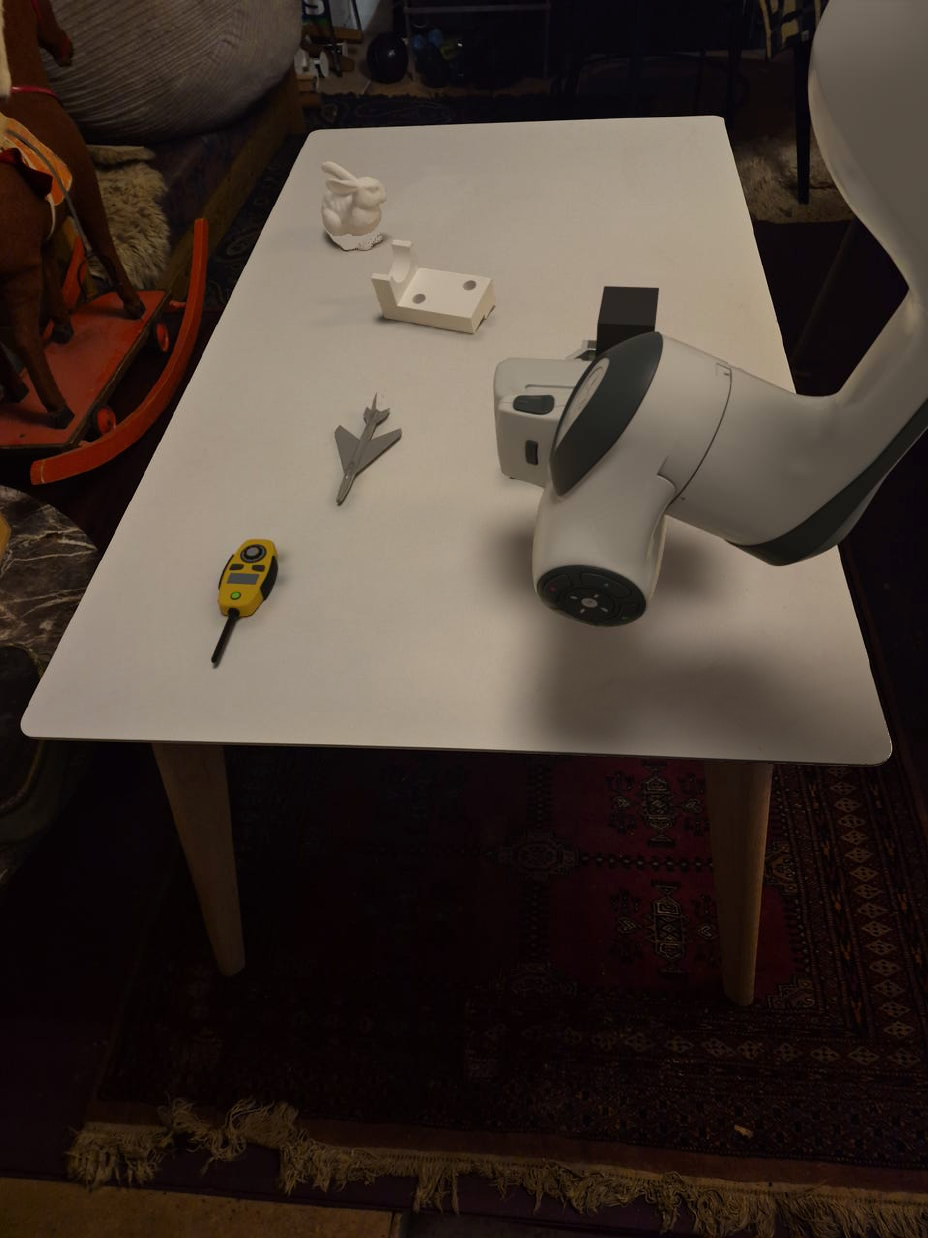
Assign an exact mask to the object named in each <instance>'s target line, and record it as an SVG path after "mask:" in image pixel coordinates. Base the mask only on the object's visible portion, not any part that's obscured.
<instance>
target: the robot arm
mask: <svg viewBox="0 0 928 1238" xmlns="http://www.w3.org/2000/svg"><path fill="white" fill-rule="evenodd" d="M807 75H808V76H807V93H808V106H809V113H810V121H811V124H812V128H813V129H812V130H813V133H814V135H815V140H816V143H817V146H818V149H819V151H820V154H821V157H822V160H823V162H824V164H825V166H826V168H827V170H828V173H829V174H830V176H831V178H832V180H833V183H834V184H835V187H836V188H837V190H838V191H839V193H840V195H841V197H842V198H843V200H844V201H845V202H846V204H847V206H848V207H849V209H851V211H852V212H853V213H854V215H856V217H857V218H858V219H859V220H860V222H861V223H862V224H863V225H864V227H866V229H867V230H868V231H869V232H870V234H872V236H873V237H874V238H875V240H877V241H878V243H879V244H880V245H881V246H882V248H883V249H884V251H886V253H887V254H888V255H889V257H890V259H891V260H892V261H893V263H894V264H895V266H896V268H897V269H898V270H899V272H900V273H901V275H902V277H903V278H904V280H905V282H906V284H907V286H908V291H907V292H906V295H905V297H904V298H903V300H902V302H901V303H900V304H899V306H898V308H897V309H896V310H895V311H894V313H893V314H892V316H891V317H890V318H889V320H888V321H887V323H886V324H885V326H884V327H883V328H882V330H881V332H880V333H879V334H878V335H877V337H876V339H875V340H874V341H873V343H872V344H871V346H870V348H869V349H868V350H867V351H866V353H865V354H864V356H863V357H862V359H861V360H860V362H859V363H858V364H857V366H856V367H855V369H854V370H853V371H852V373H851V374H850V376H849V377H848V379H846V380H845V383H844V384H843V386H842V387H841V388H840V390H839V391H838V392H836V393H833V394H830V395H824V396H812V395H804V394H798V393H795V392H793V391H790V390H788V389H785V388H783V387H781V386H780V385H777V384H774V383H772V382H770V381H768V380H765V379H764V378H761V377H759V376H756V375H754V374H752V373H750V372H747V371H746V370H744V368H741V367H737V366H734V365H732V364H730V363H729V362H728V361H726V360H724V359H721V358H719V357H717V356H715V355H714V354H711V353H709V352H707V351H704V350H702V349H699V348H697V347H695V346H692V345H690V344H688V343H685V342H683V341H682V340H680V339H676V338H674V337H672V336H669V335H666V334H663V333H661V332H660V331H656V330H655V332H648V333H644V334H641V335H638V336H635V337H632V338H630V339H628V340H625V341H624V342H622V343H620V344H618V345H616V346H614V347H612V348H610V349H608V350H607V351H605V352H603V353H601V354H600V355H598V356H597V357H596V340H597V339H582V341H581V346H580V348H578V349H577V350H575V351H574V352H572V353H570V354H569V355H568V356H566V357H565V358H564V359H555V358H552V359H551V358H532V357H531V358H529V357H508V358H506V359H503V360H501V361H499V362H498V363H497V364H496V366H495V369H494V374H493V382H492V383H493V384H492V389H493V390H492V391H493V414H494V426H495V435H496V437H495V438H496V439H495V440H496V449H497V456H498V461H499V466H500V471H501V473H502V474H503V475H505V476H507V477H509V478H510V477H512V478H511V479H516V480H518V481H522V482H525V483H528V484H531V485H534V486H536V487H540V488H542V489H543V491H542V494H541V497H540V499H539V503H538V508H537V512H536V517H535V518H536V519H535V525H534V531H533V532H534V533H533V540H532V541H533V542H532V559H531V561H532V562H531V569H532V571H531V572H532V583H533V587H534V591H535V593H536V595H537V597H538V599H539V600H540V601H541V602H542V603H543V604H544V605H545V606H546V608H548V609H549V610H551V611H552V612H554V613H555V614H557V615H560V616H562V617H565V618H567V619H568V620H572V621H575V622H577V623H581V624H583V625H585V626H586V625H587V626H591V627H595V628H616V627H617V628H618V627H622V626H626V625H629V624H632V623H634V622H637V621H638V620H640V619H641V618H642V617H643V616H644V615H645V614H646V613H647V611H648V610H649V608H650V605H651V602H652V600H653V597H654V594H655V591H656V587H657V584H658V580H659V576H660V575H659V574H660V572H661V567H662V561H663V555H664V549H665V543H666V542H665V541H666V533H667V526H668V525H667V524H668V523H667V522H668V517H670V518H672V519H675V520H678V521H680V522H682V523H683V524H684V523H685V524H687V525H690V526H691V527H694V528H696V529H699V530H701V531H704V532H706V533H708V534H710V535H714V536H715V537H717V538H720V539H722V540H724V541H725V542H726V543H728V544H729V545H731V546H733V547H735V548H737V549H738V550H740V551H742V552H744V553H746V554H748V555H749V556H752V557H754V558H755V559H757V560H758V561H759V560H760V561H761V562H763V563H765V564H767V565H769V566H772V567H786V566H790V565H794V564H797V563H802V562H805V561H806V560H811V559H814V558H815V557H818V556H819V555H822V554H824V553H826V552H828V551H829V550H831V549H833V548H834V547H836V546H837V545H839V544H840V543H841V542H842V541H843V540H844V539H845V538H846V537H847V536H848V535H849V534H850V532H851V531H852V530H853V528H854V527H855V526H856V524H857V523H858V521H859V520H860V519H861V517H862V516H863V514H864V512H865V511H866V510H867V508H868V506H869V504H870V503H871V501H872V499H874V496H875V495H876V493H877V492H878V490H879V488H880V487H881V485H882V484H883V482H884V481H885V479H886V478H887V476H888V475H889V474H890V472H891V471H892V470H893V469H894V468H895V467H896V465H897V464H898V463H899V462H900V461H901V459H902V458H903V457H904V456H905V455H906V454H907V452H908V451H909V450H910V449H911V448H912V446H914V444H915V443H916V442H917V441H918V439H920V437H922V435H923V434H924V433H925V432H926V431H927V429H928V0H828V3H827V5H826V6H825V9H824V11H823V13H822V15H821V18H820V20H819V22H818V24H817V27H816V29H815V31H814V35H813V39H812V44H811V50H810V57H809V65H808V74H807Z"/></svg>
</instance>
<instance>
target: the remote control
mask: <svg viewBox="0 0 928 1238" xmlns="http://www.w3.org/2000/svg"><path fill="white" fill-rule="evenodd" d="M278 569H279V563H278V551H277V548H276V545H275V543H274V541H273V540H271V539H265V538H249V539H247V540H245V541H244V542H242V544H240V546H239V548H238V549H237V550H236V552H235V553H232V554H231V556H230V557H229V559H228V560H227V562H226V564H225V565H224V567H223V570H222V572H221V574H220V577H219V581H218V586H217V588H218V597H217V603H218V605H219V608H220V610H221V612H222V613H223V614H224V615H226V616H228V617H227V619H226V622H225V624H224V626H223V629H222V632H221V634H220V635H219V638H218V641H217V643H216V646H215V648H214V651H213V653H212V655H211V657H210V662H211V663H212V664H216V663H217V662H218V661H219V658H220V656H221V653H222V651H223V648H224V646H225V643H226V641H227V638H228V636H229V633H230V632H231V629H232V626H233V624H234V622H235V620H236V619H237V618H239V617H249V616H251V615H253V614H254V613H255V612H256V611H257V609H258V608H259V607H260V605H261V603H262V602H263V601H264V600H266V599H267V597H268V596H269V594H270V592H271V590H272V588H273V587H274V584H275V581H276V578H277V576H278Z"/></svg>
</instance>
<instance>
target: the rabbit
mask: <svg viewBox="0 0 928 1238" xmlns="http://www.w3.org/2000/svg"><path fill="white" fill-rule="evenodd" d="M320 168H321V170H322V172H323V173H325V174H328V175H330V176H333V177H335V178H327V179H326V180H325V186H326V188H327V190H326V191H325V193H324V194H323V197H322V200H321V209H320V213H321V217H322V223H323V224H322V225H323V226H324V229H325V228H326V230H327V231H328V232H329V233H330V234H332V235H333V236H343V235H346V234H351V235H352V236H362V235H365V234H368V233H371V232H372V231H374V230H375V229H376V228H377V227H378V226H379V225H380V223H381V221H382V209H381V207H380V204H384V203H385V202H386V201H387V198H388V197H387V189H386V187H385V186H384V184H383V183H382V182H381V181H379V180H378V179H376V178H374V177H372V176H361V177H359V178H358V177H355V176H354V175H352V173H351V172H349V171H348V170H346V169H345V168H343V167H342V166H340V164H337V163H335V162H334V161H330V160H329V161H328V160H327V161H325V162H324V163H322V164H321V167H320ZM379 233H380V234H379V235H377V238H378V237H379V236H382V238H383V235H382V233H381V232H379ZM382 238H381V237H380V240H377V241H378V243H381V242H382V241H381V239H382ZM383 239H384V238H383ZM383 239H382V240H383ZM370 240H371V239H370ZM375 241H376V238H375ZM375 241H373V244H372V243H371V246H372V247H371V246H369V245H367V244H366V245H367V247H365V243H364V242H363V243H364V246H363V245H362V248H361V244H360V243H359V246H360V247H359V246H357V247H358V249H357V248H356V249H355V250H359V251H368V250H371V249H373V248H374V247H373V246H374V245H375V244H378V243H377V242H375ZM374 242H375V243H374ZM368 244H369V242H368ZM349 251H353V250H352V249H351V250H349ZM349 251H348V252H349Z"/></svg>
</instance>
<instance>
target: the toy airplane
mask: <svg viewBox="0 0 928 1238" xmlns="http://www.w3.org/2000/svg"><path fill="white" fill-rule="evenodd" d="M384 391H385V392H387V389H384ZM377 394H378V392H375V395H374V397H373V400H372V404H371V408H369V407H368V406H366V407H365V409H364V411H363V415H362V416H363V417H364V419H365V421H366V425H365V427H364V428H363V431H362V433H361V436H360V438H358V437H356V435H354V434H353V433H352V432H350V431H349V430H348V429H346V428H345V427H343V426H342V425H341V424H339V425H338V426H337V427H336V429H335V431H334V437H335V439H336V444H337V448H338V451H339V456H340V460H341V463H342V467H343V471H344V475H343V477H342V480H341V482H340V485H339V489H338V491H337V496H336V501H335V502H336V503H337V504H341V503H342V501H343V500H344V499H345V497H346V495H347V494H348V492H349V490H350V488H351V485H352V483H353V481H354V479H355V476H356V474H357V473H359V472H360V471H361V470H362V469H364V467H366V466H367V465H368V464H370V463H371V462H372V461H373V460H374V459H375V458H376V457H378V456H379V455H380V454H381V453H382V452H383V451H384V450H386V449H387V448H388V447H389V446H390V445H391V444H393V443H394V442H395V441H396V440H397V439H398V438H400V437H401V434H402V427H400V428H398V429H395V430H392V431H390V432H387V433H384V434H382V435H380V436H376V437H374V438H371V437H372V435H373V432H374V430H375V427H376V425H377V424H378V423H379V422H380V421H382V420H383V419H385V418H386V417H387V416H388V414H389V412H390V410H391V407H388V408H386V409H383V410H381V411H380V410H379V409H377V398H378V397H377ZM382 397H385V395H384V394H382ZM382 404H383V403H382V402H380V403H379V405H380V406H381V405H382Z"/></svg>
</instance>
